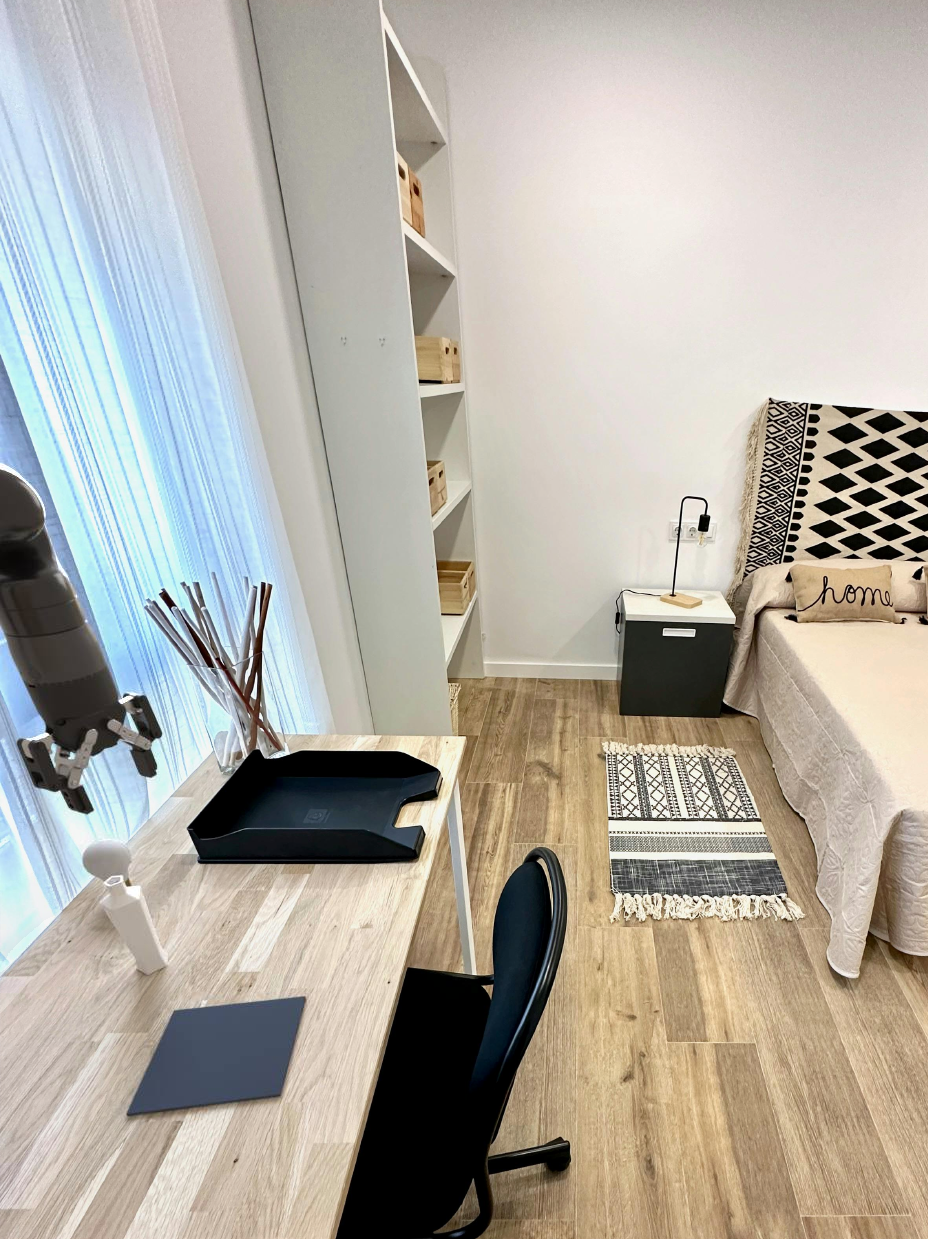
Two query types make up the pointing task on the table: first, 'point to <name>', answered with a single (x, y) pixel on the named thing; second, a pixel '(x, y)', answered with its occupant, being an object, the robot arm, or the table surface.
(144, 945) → the perfume bottle
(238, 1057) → the cloth
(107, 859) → the light bulb
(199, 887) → the table surface
